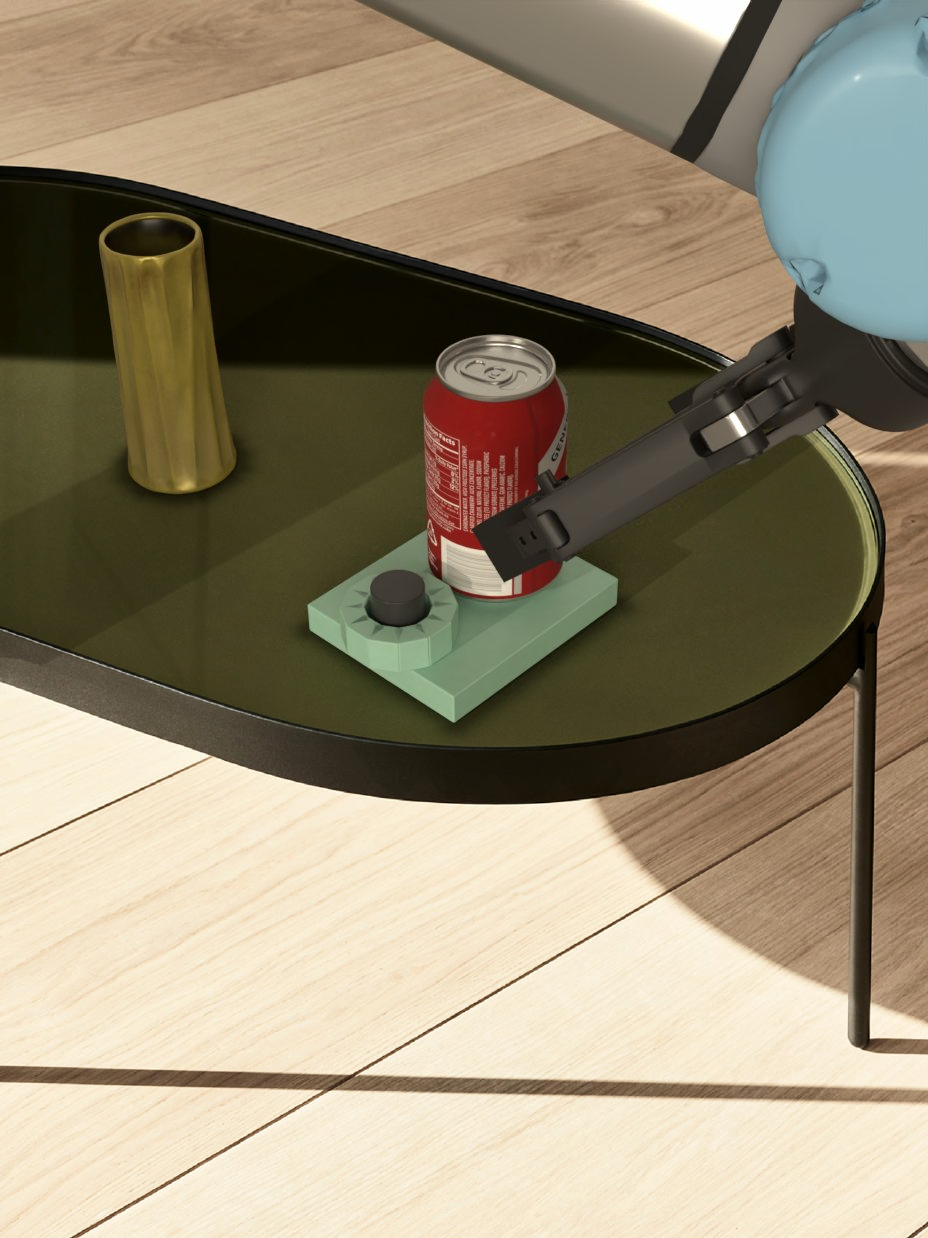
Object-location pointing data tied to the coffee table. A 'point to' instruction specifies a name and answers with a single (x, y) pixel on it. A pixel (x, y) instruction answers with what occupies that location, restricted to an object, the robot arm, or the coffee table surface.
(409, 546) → the scale
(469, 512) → the soda can
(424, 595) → the tare button
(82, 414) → the coffee table surface
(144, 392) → the vase
